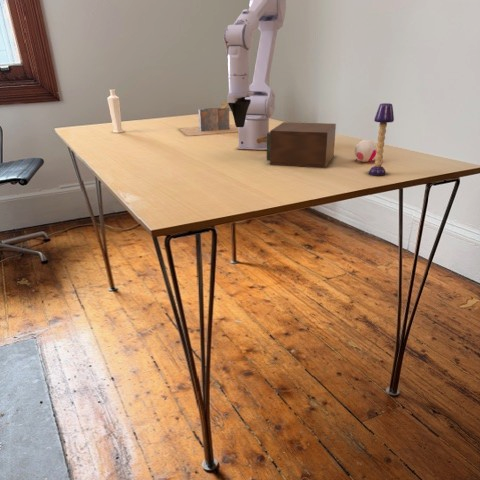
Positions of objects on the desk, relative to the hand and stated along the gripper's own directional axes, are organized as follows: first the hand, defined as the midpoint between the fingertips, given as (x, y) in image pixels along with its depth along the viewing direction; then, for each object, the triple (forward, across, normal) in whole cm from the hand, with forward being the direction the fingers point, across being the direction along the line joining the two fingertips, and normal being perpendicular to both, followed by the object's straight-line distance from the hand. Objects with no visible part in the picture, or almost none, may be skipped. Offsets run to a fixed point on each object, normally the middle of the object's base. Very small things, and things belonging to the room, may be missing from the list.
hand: (239, 126), depth 141 cm
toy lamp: (+9, -10, -41) cm, 43 cm away
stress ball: (+9, +2, -37) cm, 38 cm away
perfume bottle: (+9, +32, +61) cm, 70 cm away
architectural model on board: (+9, +44, +25) cm, 51 cm away
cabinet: (+9, 0, -19) cm, 21 cm away
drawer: (+8, 0, -15) cm, 17 cm away
